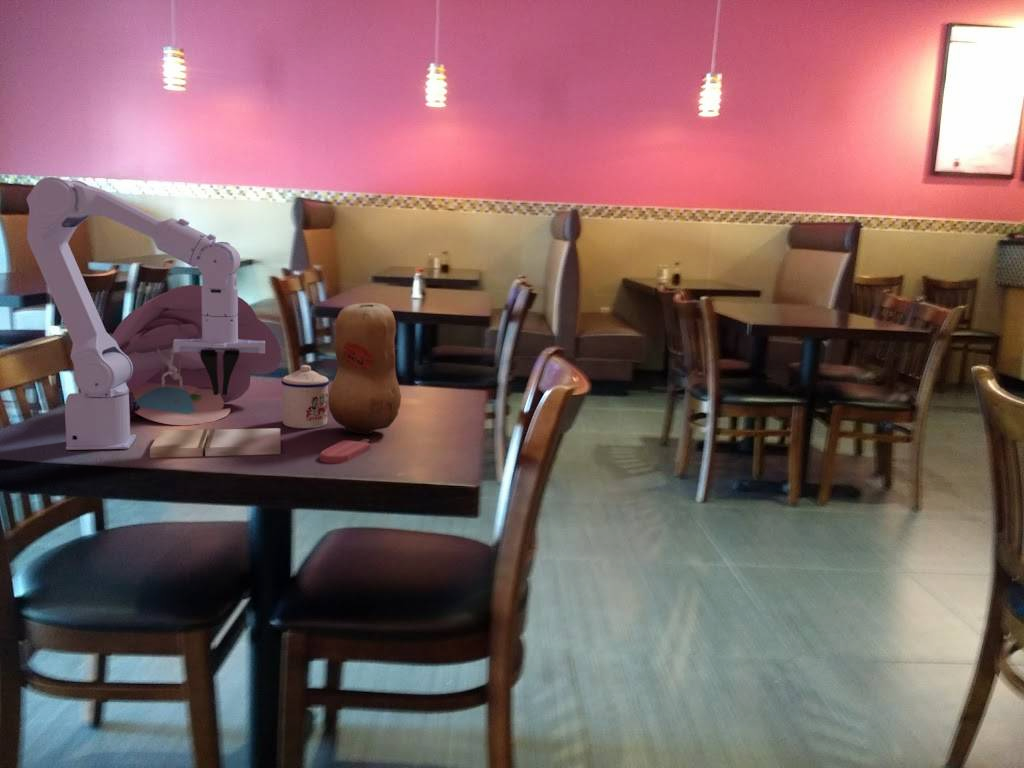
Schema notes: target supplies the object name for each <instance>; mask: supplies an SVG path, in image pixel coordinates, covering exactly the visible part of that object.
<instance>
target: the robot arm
mask: <svg viewBox="0 0 1024 768" xmlns="http://www.w3.org/2000/svg"><path fill="white" fill-rule="evenodd" d="M26 201H27V204H28V209H29V210H28V223H27V233H26V239H27V243H28V245H29V247H30V250H31V253H32V254H33V256H34V259H35V261H36V263H37V265H38V268H39V269H40V270H39V271H40V272H41V274H42V276H43V278H44V281H45V283H46V285H47V288H48V290H49V292H50V295H51V297H52V299H53V302H54V303H55V305H56V308H57V310H58V313H59V315H60V317H61V319H62V322H63V324H64V326H65V328H66V330H67V332H68V335H69V338H70V340H71V341H72V346H71V351H70V359H71V361H72V364H73V381H74V383H75V385H76V387H77V389H79V390H80V392H77V393H76V392H75V393H73V392H72V393H69V394H67V396H66V398H65V405H64V407H65V408H64V417H65V418H64V420H65V422H64V423H65V439H66V442H65V443H66V446H65V450H68V451H72V450H73V451H75V450H77V451H82V450H84V451H85V450H117V449H119V450H123V449H124V450H125V449H126V450H127V449H129V448H130V447H131V446H132V444H133V442H134V441H135V440H136V438H137V434H135V433H134V434H131V420H130V419H131V416H130V413H129V389H128V387H127V385H126V382H127V381H128V380H129V379H130V377H131V375H132V372H133V365H132V362H131V360H130V359H129V357H128V356H127V355H126V354H124V353H123V352H122V351H121V350H120V348H119V346H118V344H117V342H116V341H115V340H114V339H113V338H112V335H110V334H109V333H108V332H107V330H106V328H105V326H104V324H103V321H102V319H101V317H100V315H99V312H98V310H97V307H96V305H95V302H94V300H93V298H92V296H91V293H90V291H89V289H88V287H87V285H86V281H85V279H84V277H83V275H82V272H81V270H80V268H79V266H78V263H77V261H76V259H75V255H74V254H73V252H72V250H71V247H70V245H69V242H70V239H71V238H72V236H73V235H74V233H75V231H76V229H77V228H78V227H79V226H80V225H81V224H82V223H83V222H85V221H86V220H88V218H90V217H105V218H108V219H110V220H112V221H114V222H116V223H119V224H121V225H123V226H125V227H128V228H130V229H132V230H134V231H136V232H139V233H141V234H142V235H145V236H147V237H149V238H151V239H152V240H153V243H154V244H155V245H154V246H155V247H156V249H157V250H158V251H161V252H163V253H164V254H167V255H168V256H171V257H173V258H175V259H177V260H178V261H180V262H182V263H185V264H187V265H189V266H191V267H193V268H195V267H197V268H198V271H199V272H200V273H201V286H202V339H175V340H174V341H173V348H174V352H201V356H200V358H201V360H202V362H203V364H204V366H205V368H206V370H207V372H208V375H209V377H210V380H211V383H212V387H213V394H214V395H218V393H219V384H218V352H224V354H223V375H224V376H223V395H227V393H228V385H229V380H230V377H231V374H232V371H233V368H234V366H235V364H236V362H237V360H238V358H239V354H240V353H239V352H247V353H265V341H254V340H239V339H238V297H239V296H238V295H239V293H238V292H239V288H238V273H237V272H238V270H239V269H240V266H241V262H242V261H241V255H240V253H239V251H238V250H237V248H235V247H234V246H233V245H231V243H229V242H227V241H219V242H216V239H217V236H216V235H215V234H214V235H213V234H212V233H211V234H210V233H209V234H205V233H204V232H201V231H200V230H198V229H196V228H193V227H192V226H189V224H190V221H188V220H186V219H184V218H179V220H178V219H175V218H173V217H172V218H169V219H166V220H163V221H162V220H160V219H158V218H156V217H155V216H153V215H152V214H149V213H147V212H146V211H144V210H142V209H140V208H138V207H137V206H134V205H133V204H132V203H129V202H128V201H125V200H123V199H121V198H120V197H118V196H116V195H114V194H112V193H110V192H108V191H106V190H103V189H102V188H98V187H96V186H92V185H88V184H87V183H85V182H83V181H80V180H73V179H72V180H69V179H62V178H61V177H56V176H46V177H44V178H41V179H40V180H39V181H38V182H36V183H35V184H34V186H33V188H32V190H31V191H30V192H29V194H28V196H27V197H26ZM207 348H232V349H207Z"/></svg>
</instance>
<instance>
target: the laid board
mask: <svg viewBox="0 0 1024 768" xmlns="http://www.w3.org/2000/svg"><path fill="white" fill-rule="evenodd" d="M209 434H210V431H209V429H208V428H205V429H180V430H179V429H175V430H174V429H167V430H165V429H164V430H159V432H158V434H157V435H156V437H155V439H154V441H153V442H152V444H151V446H150V448H149V458H155V459H156V458H187V457H191V458H192V457H193V458H194V457H196V458H197V457H203V456H204V454H205V446H206V443H207V440H208V437H209Z"/></svg>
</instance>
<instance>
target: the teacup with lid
mask: <svg viewBox="0 0 1024 768" xmlns="http://www.w3.org/2000/svg"><path fill="white" fill-rule="evenodd" d="M299 368H300V369H299V370H296V371H294V372H292V373H291V374H289V375H285V376H284V377H282V378H281V385H282V424H283V425H284V426H286V427H289V428H294V429H316V428H320V427H324V426H326V425H327V423H328V410H329V384H330V381H329V378H328V377H327V376H324V375H321V374H319V373H318V372H316V371H314V370H312V367H311V366H310V365H309V364H308V365H307V364H304V365H301V366H299Z"/></svg>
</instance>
